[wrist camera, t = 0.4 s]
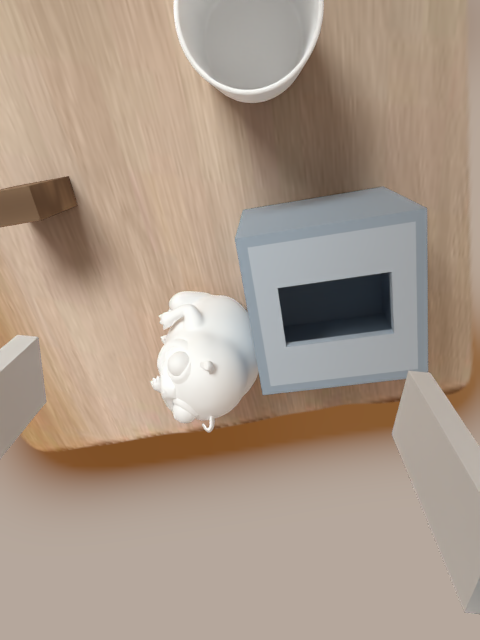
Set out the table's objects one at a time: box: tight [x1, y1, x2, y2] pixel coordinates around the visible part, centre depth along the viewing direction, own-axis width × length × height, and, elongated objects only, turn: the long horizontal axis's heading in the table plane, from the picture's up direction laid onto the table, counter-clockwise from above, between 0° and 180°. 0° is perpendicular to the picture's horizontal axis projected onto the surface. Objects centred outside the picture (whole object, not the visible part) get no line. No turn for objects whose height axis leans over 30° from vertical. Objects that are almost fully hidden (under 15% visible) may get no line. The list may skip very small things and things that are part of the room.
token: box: [0, 176, 77, 227], centre depth 36 cm, size 2×5×7 cm, turn 100°
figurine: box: [150, 291, 259, 432], centre depth 38 cm, size 10×10×12 cm
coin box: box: [235, 187, 428, 395], centre depth 35 cm, size 12×12×11 cm
